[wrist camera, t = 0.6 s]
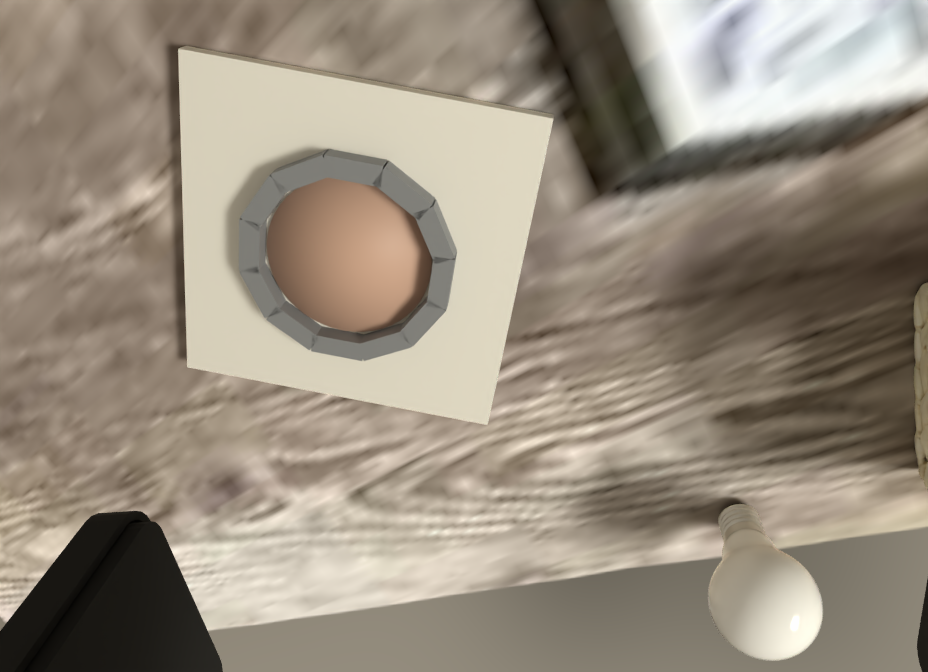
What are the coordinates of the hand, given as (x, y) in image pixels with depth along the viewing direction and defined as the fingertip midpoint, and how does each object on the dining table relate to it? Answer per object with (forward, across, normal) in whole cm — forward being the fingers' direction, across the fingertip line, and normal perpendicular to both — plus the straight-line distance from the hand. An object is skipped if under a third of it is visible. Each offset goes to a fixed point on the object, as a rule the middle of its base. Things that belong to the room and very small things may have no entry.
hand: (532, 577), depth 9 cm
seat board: (+35, +12, +8) cm, 38 cm away
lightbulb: (+35, -10, +30) cm, 47 cm away
